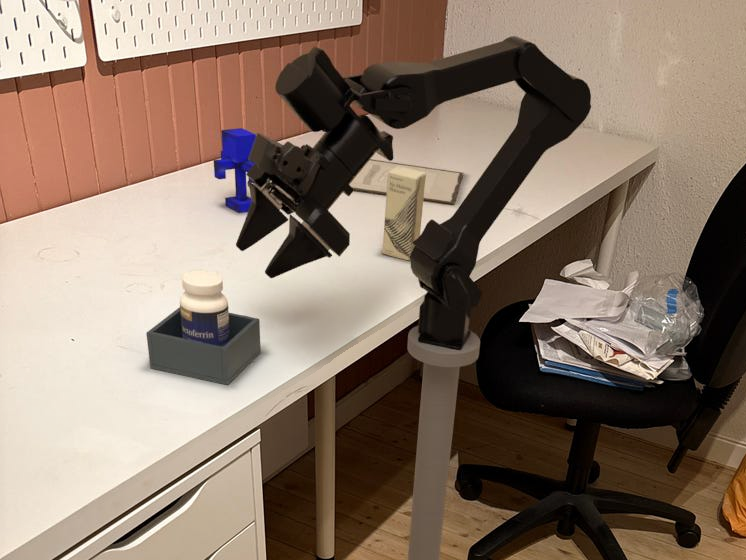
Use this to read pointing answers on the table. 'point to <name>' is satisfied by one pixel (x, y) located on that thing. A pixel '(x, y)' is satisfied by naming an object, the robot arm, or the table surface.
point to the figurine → (236, 165)
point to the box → (403, 211)
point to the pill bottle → (204, 308)
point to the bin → (204, 349)
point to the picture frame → (437, 181)
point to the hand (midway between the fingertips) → (252, 261)
